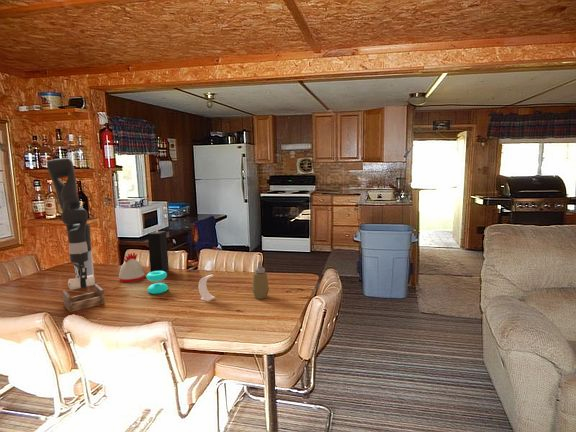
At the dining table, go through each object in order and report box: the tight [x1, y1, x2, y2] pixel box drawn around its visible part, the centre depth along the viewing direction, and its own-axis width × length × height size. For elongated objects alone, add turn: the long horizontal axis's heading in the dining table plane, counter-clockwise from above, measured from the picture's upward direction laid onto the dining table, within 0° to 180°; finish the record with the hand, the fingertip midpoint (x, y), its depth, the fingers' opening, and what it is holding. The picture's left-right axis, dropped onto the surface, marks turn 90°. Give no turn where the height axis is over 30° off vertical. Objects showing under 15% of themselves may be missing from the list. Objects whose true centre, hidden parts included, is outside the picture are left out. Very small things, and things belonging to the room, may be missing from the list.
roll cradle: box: [62, 283, 105, 313], centre depth 178 cm, size 15×12×7 cm
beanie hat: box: [118, 252, 146, 283], centre depth 217 cm, size 14×14×15 cm
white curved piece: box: [197, 274, 216, 302], centre depth 181 cm, size 5×6×12 cm
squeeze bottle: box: [252, 260, 270, 300], centre depth 181 cm, size 8×8×18 cm
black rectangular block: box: [147, 226, 170, 273], centre depth 228 cm, size 8×8×28 cm
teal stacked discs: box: [145, 271, 169, 295], centre depth 194 cm, size 10×10×10 cm
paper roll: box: [67, 275, 96, 291], centre depth 177 cm, size 11×5×5 cm, turn 131°
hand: (82, 286), depth 177 cm, fingers closed on paper roll, 5 cm apart
